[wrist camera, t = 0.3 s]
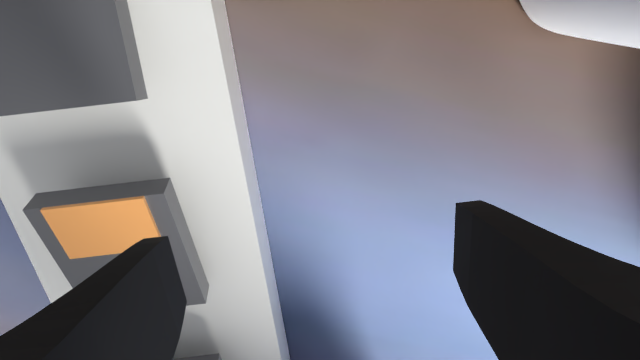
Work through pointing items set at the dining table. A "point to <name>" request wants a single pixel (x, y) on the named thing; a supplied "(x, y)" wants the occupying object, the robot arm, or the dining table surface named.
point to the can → (589, 19)
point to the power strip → (166, 172)
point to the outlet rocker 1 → (67, 55)
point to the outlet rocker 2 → (115, 228)
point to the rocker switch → (202, 357)
